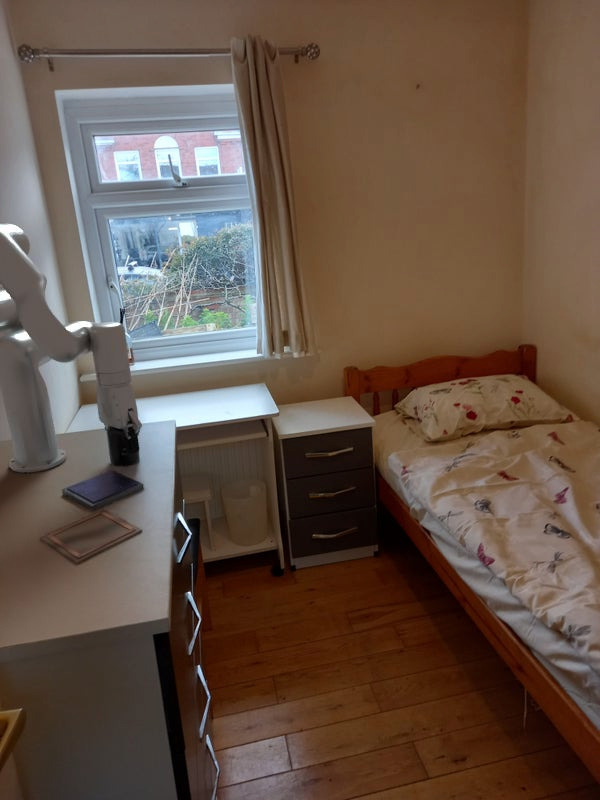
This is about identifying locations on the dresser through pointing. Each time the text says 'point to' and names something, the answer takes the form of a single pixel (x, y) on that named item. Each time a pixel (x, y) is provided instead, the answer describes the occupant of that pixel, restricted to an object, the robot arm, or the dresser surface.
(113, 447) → the supplement bottle
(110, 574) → the dresser surface
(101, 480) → the ink pad
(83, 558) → the marked board
